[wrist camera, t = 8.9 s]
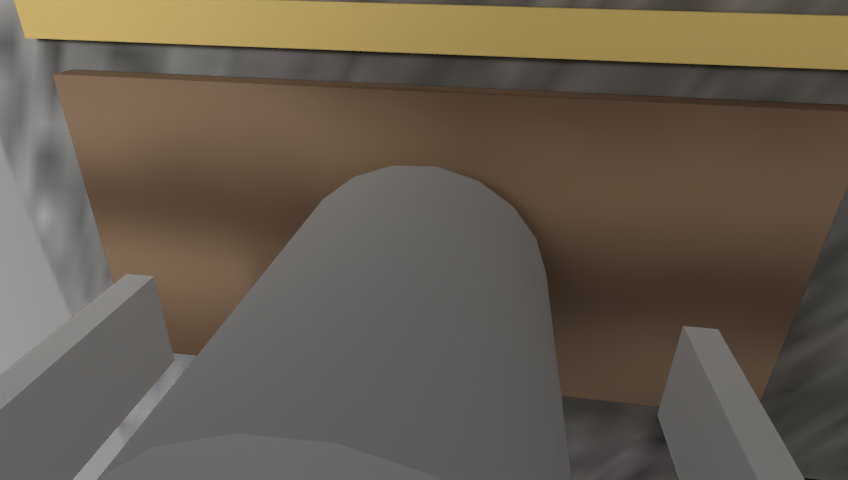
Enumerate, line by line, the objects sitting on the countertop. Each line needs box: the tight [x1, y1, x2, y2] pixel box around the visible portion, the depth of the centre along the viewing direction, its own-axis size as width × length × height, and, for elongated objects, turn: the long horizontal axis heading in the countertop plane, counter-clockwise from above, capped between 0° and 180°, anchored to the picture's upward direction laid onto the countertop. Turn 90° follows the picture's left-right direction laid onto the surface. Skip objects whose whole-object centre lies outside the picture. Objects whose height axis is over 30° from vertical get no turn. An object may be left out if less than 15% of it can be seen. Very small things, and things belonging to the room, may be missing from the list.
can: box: [97, 165, 572, 480], centre depth 11 cm, size 8×8×12 cm
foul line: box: [14, 0, 848, 70], centre depth 14 cm, size 1×24×1 cm, turn 89°
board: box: [53, 70, 848, 407], centre depth 17 cm, size 10×22×1 cm, turn 89°
